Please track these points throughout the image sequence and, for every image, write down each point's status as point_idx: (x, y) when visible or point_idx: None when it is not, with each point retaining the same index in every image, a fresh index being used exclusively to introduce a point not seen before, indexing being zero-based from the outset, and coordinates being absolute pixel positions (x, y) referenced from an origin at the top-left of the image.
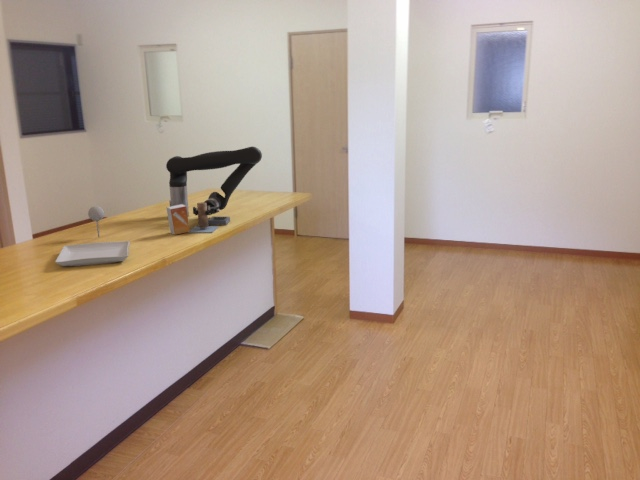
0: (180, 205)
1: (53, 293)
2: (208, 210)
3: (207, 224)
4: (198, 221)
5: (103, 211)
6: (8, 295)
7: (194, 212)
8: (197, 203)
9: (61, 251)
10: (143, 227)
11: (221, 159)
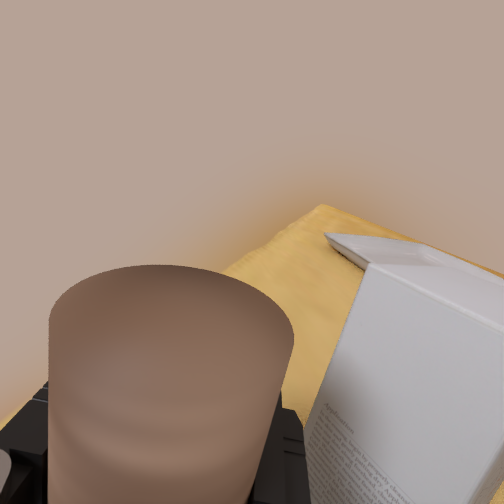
0: (475, 301)
1: (339, 219)
2: (21, 446)
3: None
4: None
5: None
6: (382, 227)
7: (290, 419)
8: (280, 319)
9: (486, 271)
10: None
11: None
